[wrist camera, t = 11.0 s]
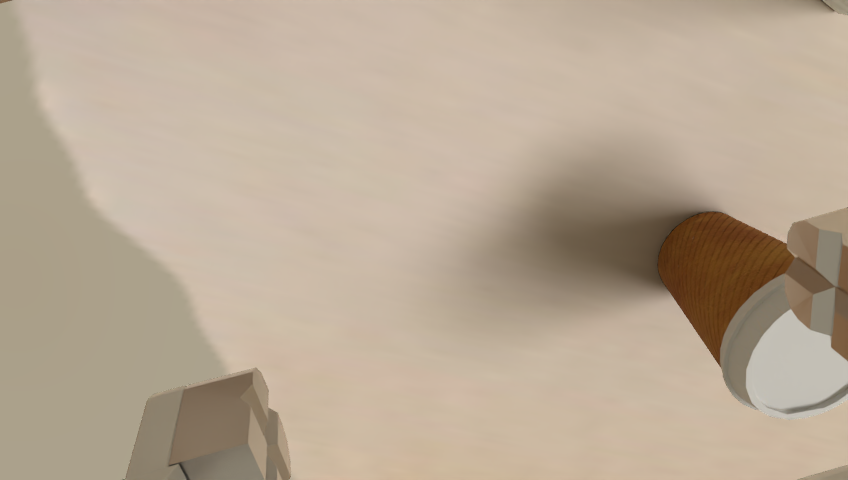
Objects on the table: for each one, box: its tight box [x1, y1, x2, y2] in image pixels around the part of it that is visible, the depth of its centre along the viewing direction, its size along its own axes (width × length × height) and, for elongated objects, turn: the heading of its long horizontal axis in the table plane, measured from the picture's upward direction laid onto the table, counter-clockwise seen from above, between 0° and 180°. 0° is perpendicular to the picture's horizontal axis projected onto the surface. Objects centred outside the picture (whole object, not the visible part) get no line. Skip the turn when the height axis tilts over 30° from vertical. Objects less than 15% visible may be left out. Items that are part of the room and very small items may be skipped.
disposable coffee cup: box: [658, 212, 848, 420], centre depth 42 cm, size 10×10×12 cm
